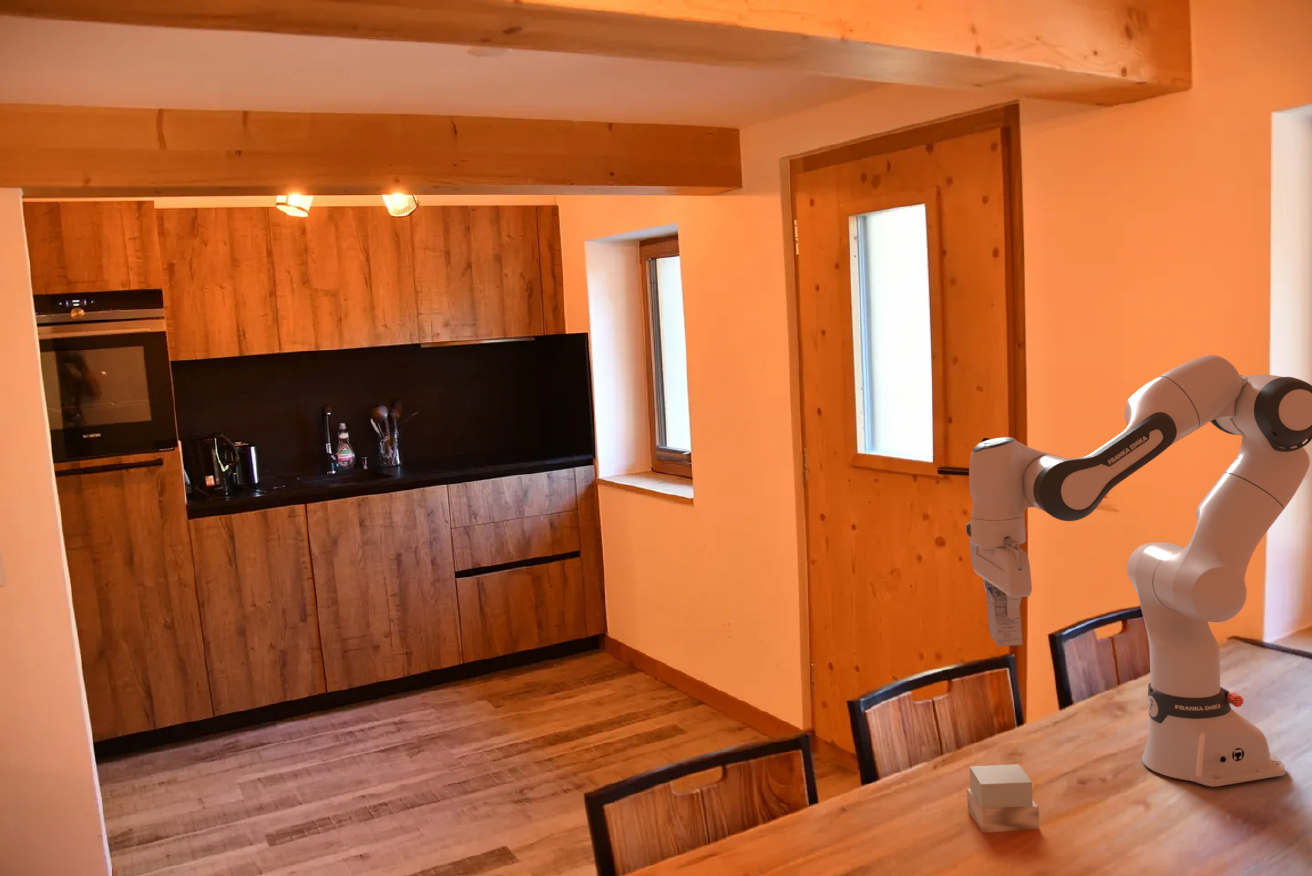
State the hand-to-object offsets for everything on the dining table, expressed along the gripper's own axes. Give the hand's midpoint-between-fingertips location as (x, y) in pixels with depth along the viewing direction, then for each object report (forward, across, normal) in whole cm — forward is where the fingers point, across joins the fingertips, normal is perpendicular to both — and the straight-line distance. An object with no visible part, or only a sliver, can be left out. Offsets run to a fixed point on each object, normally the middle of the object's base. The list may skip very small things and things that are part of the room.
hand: (1002, 610), depth 183 cm
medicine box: (+6, 0, 0) cm, 6 cm away
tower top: (+27, -15, +7) cm, 31 cm away
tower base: (+31, -15, +7) cm, 35 cm away
